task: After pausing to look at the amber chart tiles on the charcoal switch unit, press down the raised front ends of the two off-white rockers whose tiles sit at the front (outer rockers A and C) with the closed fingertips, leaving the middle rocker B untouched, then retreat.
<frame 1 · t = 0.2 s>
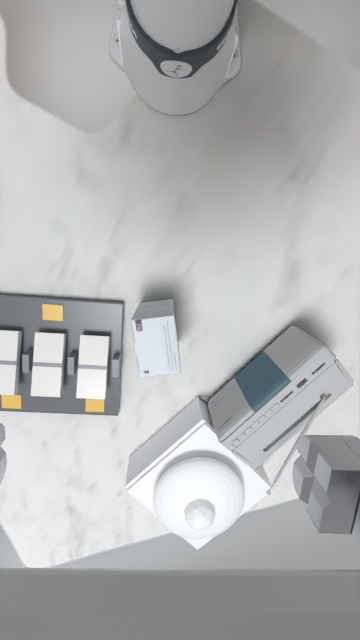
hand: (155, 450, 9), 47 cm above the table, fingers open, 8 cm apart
rocker c: (93, 366, 54), point 5 cm above the table, hinge at -14.0°
rocker b: (48, 364, 53), point 5 cm above the table, hinge at -14.0°
rocker a: (3, 361, 52), point 5 cm above the table, hinge at -14.0°
skincare box: (158, 321, 57), on the table
stereo radio cassette player: (259, 374, 61), on the table
white domed box: (194, 454, 64), on the table
switch unit: (57, 354, 57), on the table
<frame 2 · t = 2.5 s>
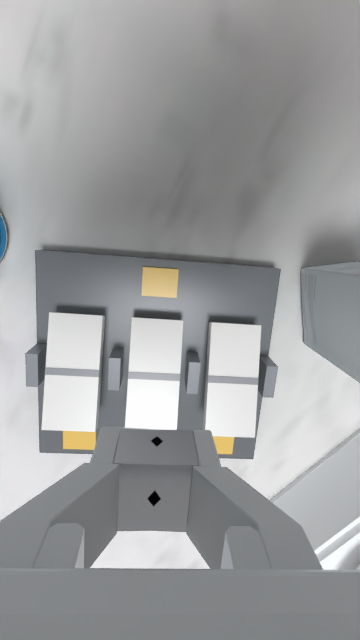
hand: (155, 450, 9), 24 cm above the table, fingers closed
rocker c: (231, 378, 30), point 5 cm above the table, hinge at -14.0°
rocker b: (154, 375, 30), point 5 cm above the table, hinge at -14.0°
rocker a: (74, 371, 29), point 5 cm above the table, hinge at -14.0°
skincare box: (326, 301, 34), on the table
white domed box: (354, 509, 40), on the table
switch unit: (155, 357, 34), on the table
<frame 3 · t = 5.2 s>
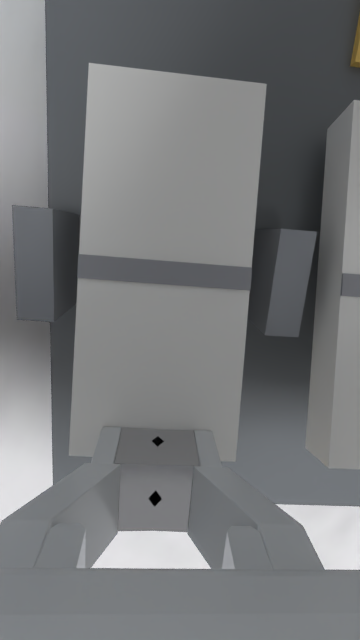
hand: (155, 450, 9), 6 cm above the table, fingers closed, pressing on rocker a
rocker a: (165, 274, 9), point 5 cm above the table, hinge at -10.9°, touching gripper
switch unit: (327, 274, 14), on the table
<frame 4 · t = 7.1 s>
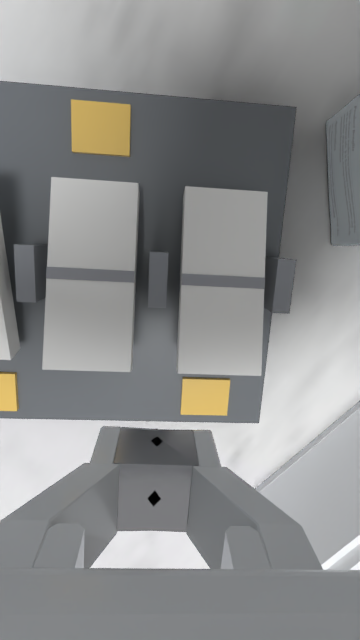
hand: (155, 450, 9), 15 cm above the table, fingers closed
rocker c: (221, 282, 18), point 5 cm above the table, hinge at -14.0°
rocker b: (93, 276, 18), point 5 cm above the table, hinge at -14.0°
switch unit: (106, 270, 22), on the table
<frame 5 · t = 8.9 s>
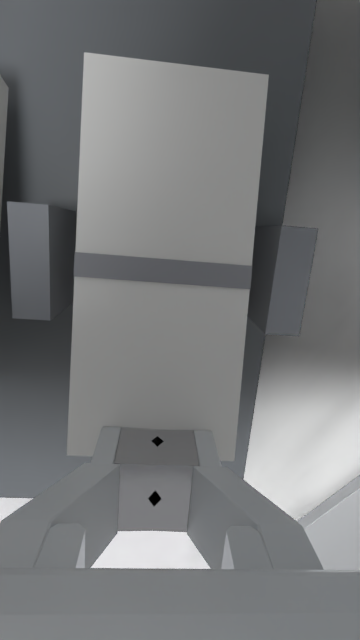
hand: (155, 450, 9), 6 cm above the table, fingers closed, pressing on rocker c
rocker c: (164, 272, 9), point 5 cm above the table, hinge at -9.5°, touching gripper
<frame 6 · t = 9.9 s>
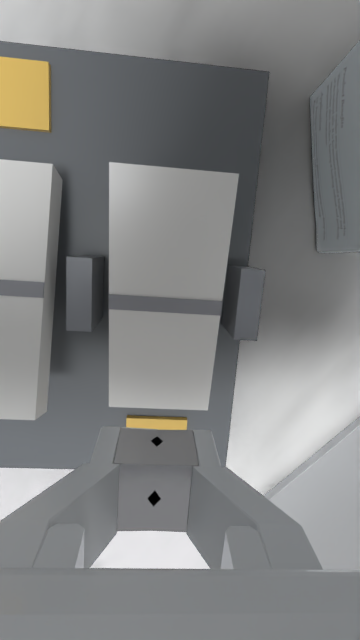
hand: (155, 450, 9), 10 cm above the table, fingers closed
rocker c: (165, 299, 14), point 5 cm above the table, hinge at 9.5°
skincare box: (357, 168, 18), on the table
switch unit: (33, 278, 18), on the table
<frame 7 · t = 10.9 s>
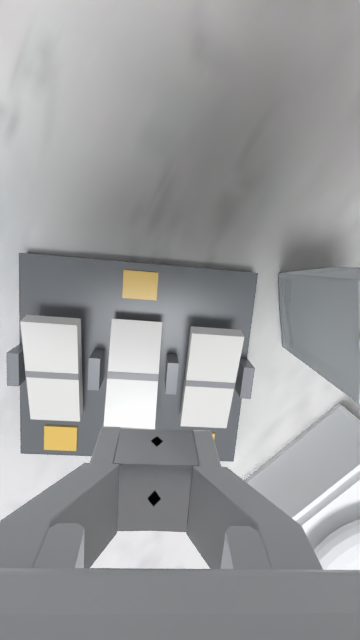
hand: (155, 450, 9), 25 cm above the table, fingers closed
rocker c: (209, 380, 31), point 5 cm above the table, hinge at 12.8°
rocker b: (133, 375, 30), point 5 cm above the table, hinge at -14.0°
rocker a: (54, 371, 30), point 5 cm above the table, hinge at 12.6°
skincare box: (303, 305, 35), on the table
white domed box: (323, 498, 40), on the table, touching stereo radio cassette player
switch unit: (136, 359, 35), on the table
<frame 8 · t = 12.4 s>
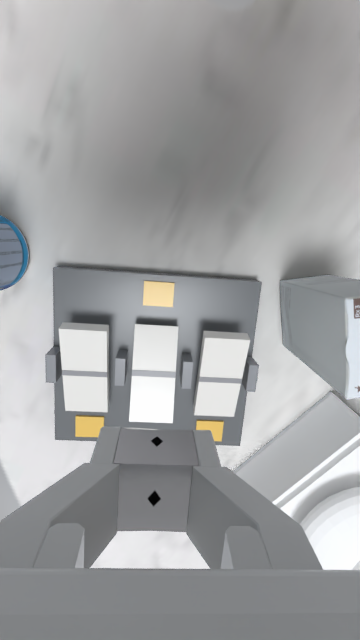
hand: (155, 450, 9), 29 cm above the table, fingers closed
rocker c: (219, 376, 35), point 5 cm above the table, hinge at 13.6°
rocker b: (153, 372, 35), point 5 cm above the table, hinge at -14.0°
rocker a: (86, 369, 34), point 5 cm above the table, hinge at 12.6°
skincare box: (302, 308, 39), on the table
white domed box: (316, 474, 45), on the table
switch unit: (154, 357, 39), on the table
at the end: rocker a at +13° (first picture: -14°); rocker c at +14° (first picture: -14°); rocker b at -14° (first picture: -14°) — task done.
